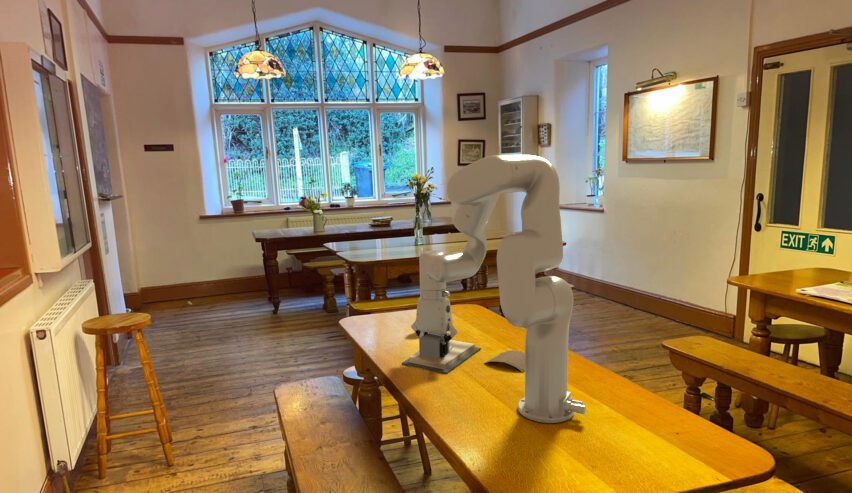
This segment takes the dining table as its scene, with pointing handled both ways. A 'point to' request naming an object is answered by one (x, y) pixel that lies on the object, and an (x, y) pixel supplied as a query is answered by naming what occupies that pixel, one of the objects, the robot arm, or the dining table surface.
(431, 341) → the block
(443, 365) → the board
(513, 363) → the clay tablet
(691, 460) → the dining table surface
